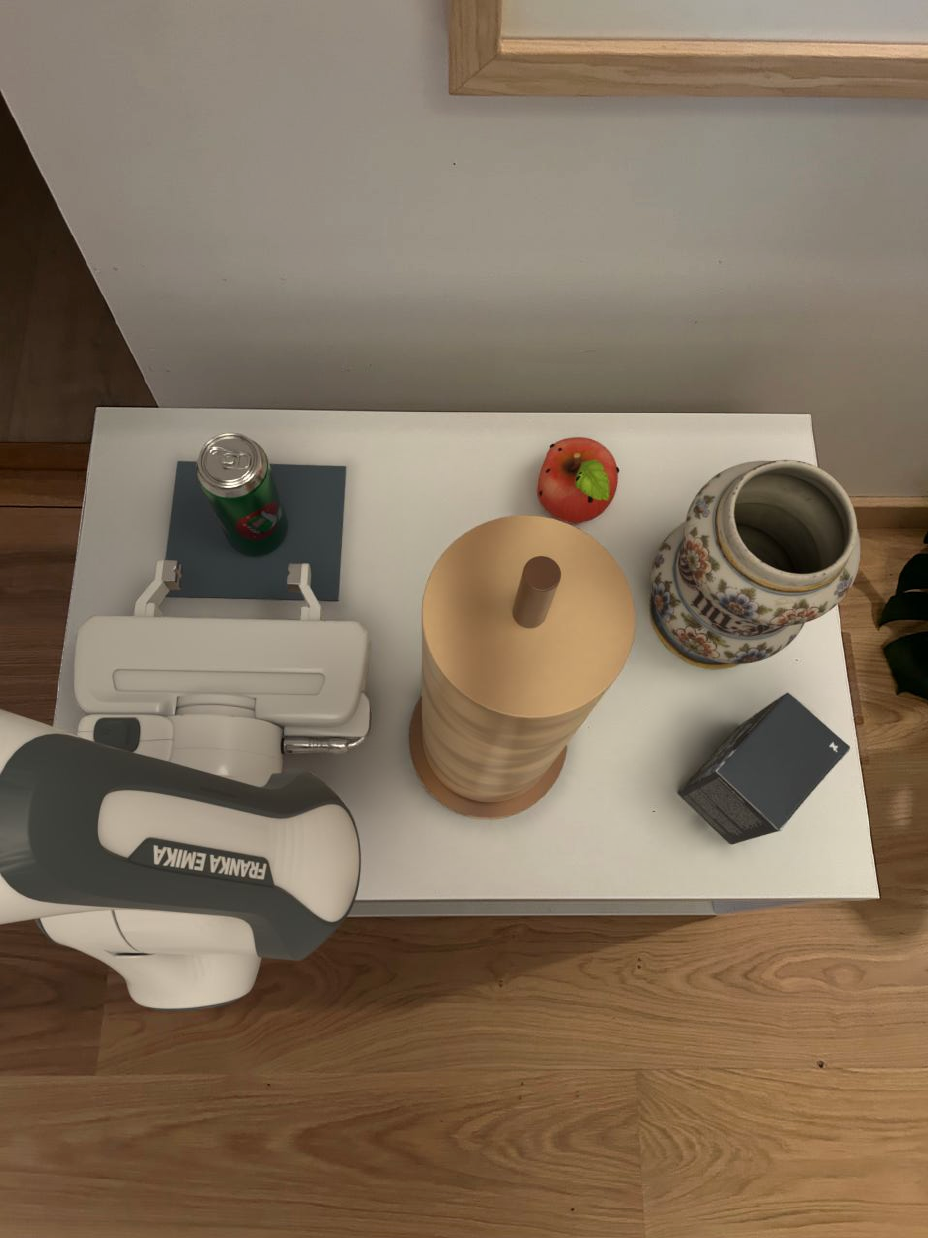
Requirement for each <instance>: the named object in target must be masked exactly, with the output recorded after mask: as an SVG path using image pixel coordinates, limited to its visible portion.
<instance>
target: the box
mask: <svg viewBox="0 0 928 1238" xmlns="http://www.w3.org/2000/svg"><path fill="white" fill-rule="evenodd" d="M850 750H851V746H850V745H849V744H848V743H846V742H845V741H844V740H843V739H842V738H841V737H839V735H837V734H836V733H835V731H833V730H832V729H831V728H830V727H828V726H827V725H826V724H825V722H823V721H821V720H820V718H818V717H817V716H816V715H815V714H814V713H813V712H812V711H810V710H809V709H808V708H807V707H806V706H805V705H804V704H802V702H801V701H799V700H798V699H797V698H796V697H794V696H793V695H792V694H791V693H790V692H785V693H784V694H783V695H780V696H779V697H778V698H777V699H775V700H774V701H772V702H771V703H769V704H768V705H767V706H765V707H764V708H762V709H760V710H759V711H758V712H756V713H755V714H754V715H752V716H750V717H749V718H748V719H747V720H744V721H743V722H742V723H740V724H739V726H737V728H736V729H735V730H734V731H733V732H732V734H731V735H729V736H728V737H727V739H726V740H725V741H724V742H723V743H722V744H721V745H720V746H719V748H718V749H716V751H714V753H713V754H712V755H711V756H710V757H709V758H708V759H707V760H706V762H705V763H703V764H702V766H701V767H700V768H699V769H698V770H697V772H696V773H695V774H694V775H693V776H691V777H690V778H689V780H688V781H687V782H686V783H685V784H684V785H683V786H682V787H681V788H680V789H679V790H678V792H677V794H678V796H679V797H680V798H681V799H683V800H684V801H685V802H686V803H687V804H688V806H689V807H691V808H692V809H693V810H694V811H695V812H696V813H697V814H698V815H699V816H700V817H701V818H702V819H703V820H704V821H705V822H706V823H707V824H708V825H709V826H711V827H712V829H713V830H714V831H715V832H716V833H717V834H719V835H720V836H721V837H722V838H723V840H725V841H726V843H728V844H729V845H732V846H733V845H735V844H739V843H742V842H746V841H749V840H752V839H756V838H760V837H764V836H767V835H771V834H774V833H778V832H782V831H783V829H784V828H785V826H786V825H787V824H788V822H789V821H790V820H791V818H792V817H793V816H794V814H795V813H796V812H797V811H798V810H799V809H800V807H801V806H802V805H803V804H804V803H805V802H806V801H807V799H808V798H809V797H810V795H811V794H812V793H813V792H814V791H815V790H816V789H817V787H818V786H819V785H821V783H822V781H824V779H825V778H826V777H827V776H828V774H830V773H831V772H832V771H833V769H834V768H835V767H836V766H837V765H838V764H839V763H840V761H841V760H842V759H843V758H844V757H845V756H846V755H847V754H848V753H849V752H850Z"/></svg>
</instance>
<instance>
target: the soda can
mask: <svg viewBox="0 0 928 1238" xmlns="http://www.w3.org/2000/svg"><path fill="white" fill-rule="evenodd" d="M196 462H197V464H196V475H197V479H198V481H199V483H200V485H201V487H202V489H203V491H204V493H205V495H206V497H207V500H208V502H209V504H210V506H211V508H212V510H213V512H214V514H215V516H216V518H217V520H218V522H219V524H220V526H221V528H222V530H223V532H224V534H225V536H226V538H227V540H228V542H229V544H230V545H231V546H232V547H233V548H234V549H235V550H236V551H238V552H240V553H242V554H245V555H248V556H261V555H265V554H268V553H270V552H272V551H274V550H275V549H277V548H278V547H279V546H280V545H281V543H282V542H283V541H284V539H285V537H286V534H287V530H288V522H287V518H286V515H285V512H284V509H283V505H282V502H281V499H280V496H279V493H278V490H277V487H276V484H275V481H274V478H273V475H272V471H271V468H270V465H269V464H270V462H269V459H268V456H267V453H266V452H265V450H264V448H263V447H262V446H261V445H260V444H259V443H258V442H256V441H255V440H253V439H252V438H249V437H248V436H246V435H245V434H241V433H239V432H224V433H220V434H217V435H215V436H213V437H212V438H209V440H207V441H206V442H205V443H204V444H203V446H202V447H201V449H200V450H199V454H198V458H197V460H196Z"/></svg>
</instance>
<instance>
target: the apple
mask: <svg viewBox="0 0 928 1238" xmlns="http://www.w3.org/2000/svg"><path fill="white" fill-rule="evenodd" d="M619 473H620V467H618V466H617V463H616V460H615V458H614V456H613V454H612V452H611V451H610V450H609V449H608V448H607V447H606V446H605V445H603V444H602V443H601V442H599V441H597V440H594V439H593V438H588V437H583V436H575V437H567V438H563V439H559V440H557V441H556V442H554V443H551V444H550V445H549V449H548V450H547V453H546V456H545V458H544V460H543V463H542V465H541V469H540V472H539V474H538V475H539V476H538V480H537V485H536V494H537V499H538V501H539V503H540V505H541V506H542V508H543V509H544V510H545V511H546V512H547V513H549V515H551V516H552V517H554V519H556V520H559V521H562V522H564V523H568V524H580V523H581V524H582V523H586V522H589V521H592V520H594V519H596V518H598V517H599V516H601V515H602V514H603V513H604V512H605V511H606V510H607V509H608V508H609V507H610V505H611V503H612V501H613V500H614V498H615V495H616V492H617V489H618V482H619Z"/></svg>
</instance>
